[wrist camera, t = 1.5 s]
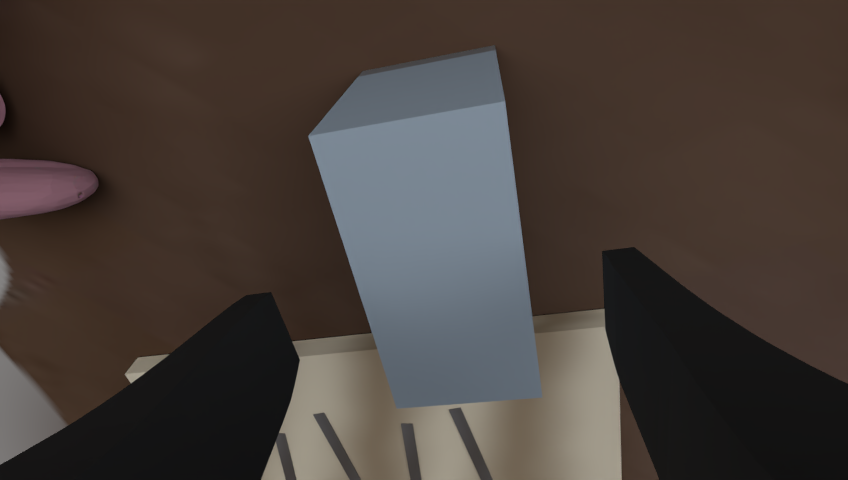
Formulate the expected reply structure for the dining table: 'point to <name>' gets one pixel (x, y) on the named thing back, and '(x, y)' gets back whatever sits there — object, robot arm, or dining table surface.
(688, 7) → the dining table surface
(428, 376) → the block
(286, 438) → the marked board
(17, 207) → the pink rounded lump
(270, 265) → the dining table surface
